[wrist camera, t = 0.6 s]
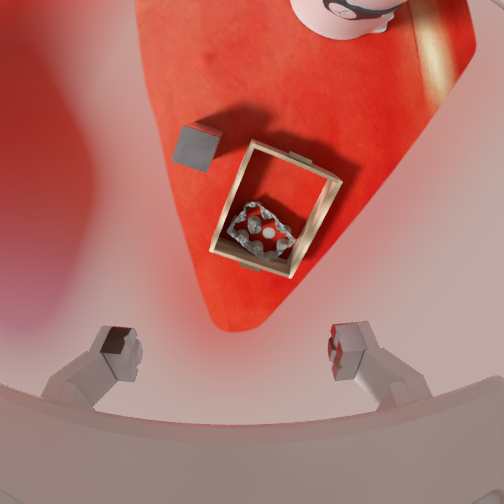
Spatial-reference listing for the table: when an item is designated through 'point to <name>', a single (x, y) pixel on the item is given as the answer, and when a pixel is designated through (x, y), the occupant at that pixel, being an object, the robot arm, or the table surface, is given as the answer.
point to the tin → (197, 146)
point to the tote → (308, 231)
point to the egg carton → (256, 227)
